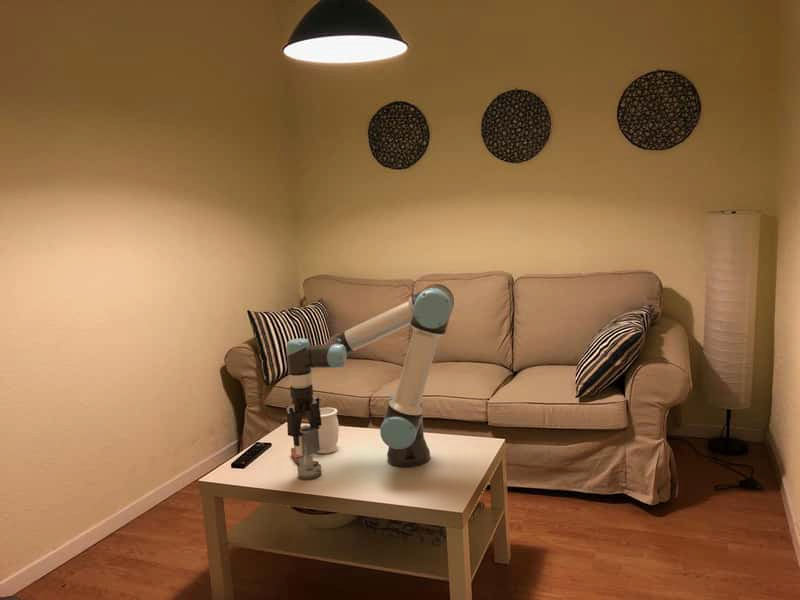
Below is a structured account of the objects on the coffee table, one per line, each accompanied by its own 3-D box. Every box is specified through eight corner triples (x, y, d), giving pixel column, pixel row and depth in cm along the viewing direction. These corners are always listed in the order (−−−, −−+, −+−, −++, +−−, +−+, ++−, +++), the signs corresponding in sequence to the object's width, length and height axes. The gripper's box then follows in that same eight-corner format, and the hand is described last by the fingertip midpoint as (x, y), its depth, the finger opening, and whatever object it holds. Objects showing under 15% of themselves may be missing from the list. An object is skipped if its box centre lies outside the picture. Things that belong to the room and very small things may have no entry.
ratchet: (324, 477, 233) (322, 457, 232) (301, 482, 230) (299, 462, 229) (306, 452, 257) (304, 434, 256) (285, 456, 254) (283, 438, 253)
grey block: (319, 450, 234) (317, 427, 233) (306, 456, 229) (304, 432, 228) (307, 447, 238) (305, 424, 236) (294, 452, 233) (292, 429, 232)
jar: (343, 444, 262) (339, 406, 260) (337, 454, 252) (334, 415, 250) (315, 445, 263) (312, 407, 261) (309, 455, 253) (305, 416, 251)
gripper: (313, 376, 240) (319, 440, 243) (271, 391, 225) (278, 458, 229) (329, 379, 235) (334, 443, 239) (287, 394, 220) (293, 462, 224)
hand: (306, 450), depth 234 cm, fingers closed on grey block, 6 cm apart
